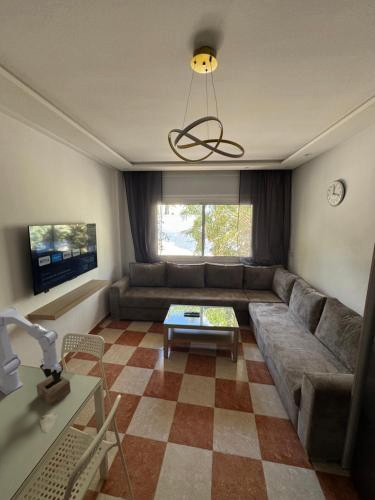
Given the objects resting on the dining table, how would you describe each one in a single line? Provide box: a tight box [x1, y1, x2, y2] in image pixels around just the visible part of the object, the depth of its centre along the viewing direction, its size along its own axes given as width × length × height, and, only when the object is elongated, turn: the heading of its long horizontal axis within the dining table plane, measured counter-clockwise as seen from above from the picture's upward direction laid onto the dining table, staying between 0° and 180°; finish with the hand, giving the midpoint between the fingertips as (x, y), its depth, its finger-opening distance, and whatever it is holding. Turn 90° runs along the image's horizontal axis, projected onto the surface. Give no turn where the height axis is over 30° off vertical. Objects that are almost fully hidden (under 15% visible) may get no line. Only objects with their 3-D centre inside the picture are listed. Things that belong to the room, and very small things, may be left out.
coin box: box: [36, 375, 71, 406], centre depth 116 cm, size 12×10×6 cm
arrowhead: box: [39, 412, 58, 434], centre depth 100 cm, size 7×2×10 cm
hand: (52, 379), depth 115 cm, fingers open, 7 cm apart
